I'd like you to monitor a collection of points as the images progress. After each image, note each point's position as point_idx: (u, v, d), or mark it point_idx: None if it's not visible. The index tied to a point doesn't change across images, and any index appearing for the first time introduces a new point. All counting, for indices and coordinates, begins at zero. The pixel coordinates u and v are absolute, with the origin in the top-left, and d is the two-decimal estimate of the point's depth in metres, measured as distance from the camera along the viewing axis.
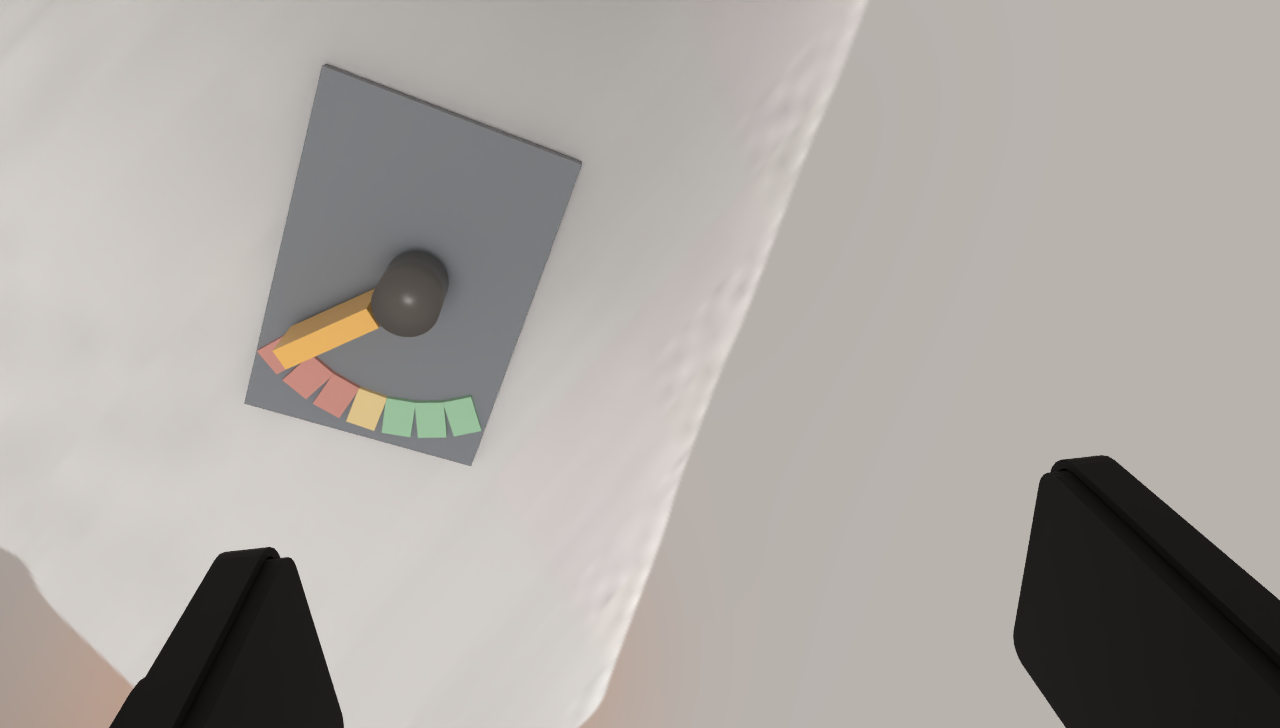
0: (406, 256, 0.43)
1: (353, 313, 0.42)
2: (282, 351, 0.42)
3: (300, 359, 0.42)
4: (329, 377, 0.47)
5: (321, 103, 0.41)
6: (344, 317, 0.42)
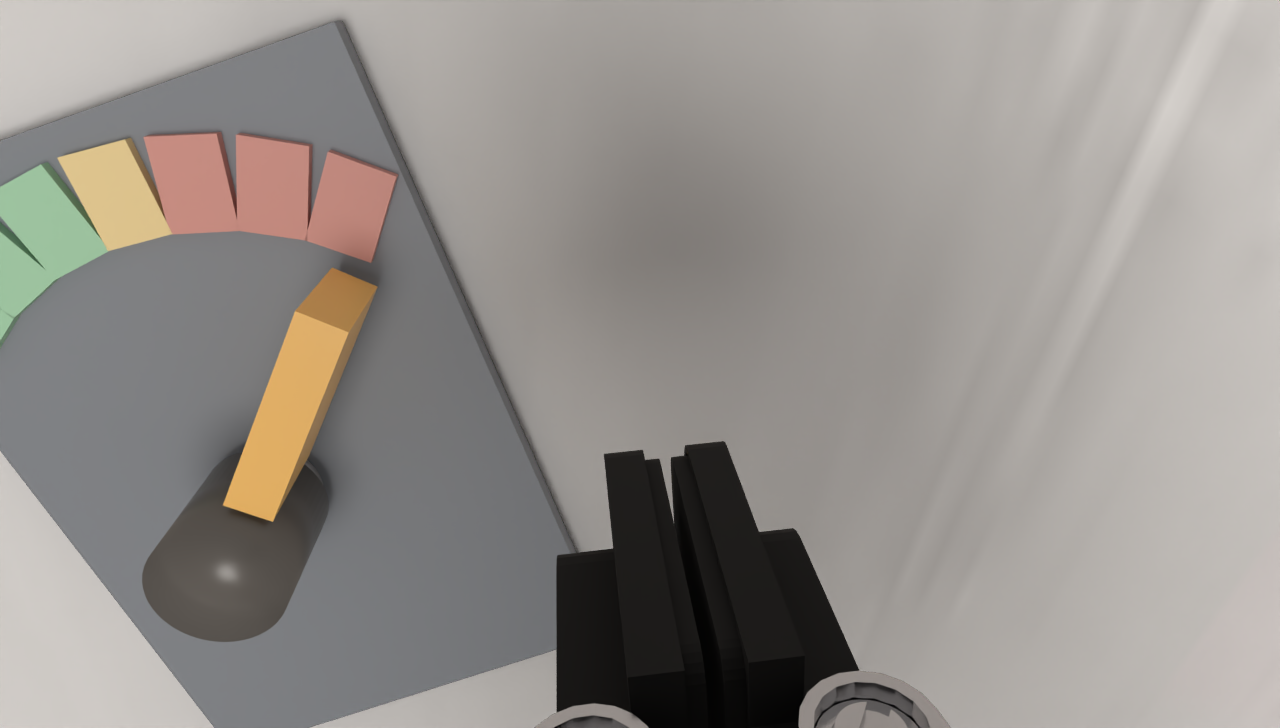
0: None
1: (284, 492, 0.20)
2: (330, 344, 0.18)
3: (288, 351, 0.18)
4: (238, 217, 0.20)
5: None
6: (291, 475, 0.20)
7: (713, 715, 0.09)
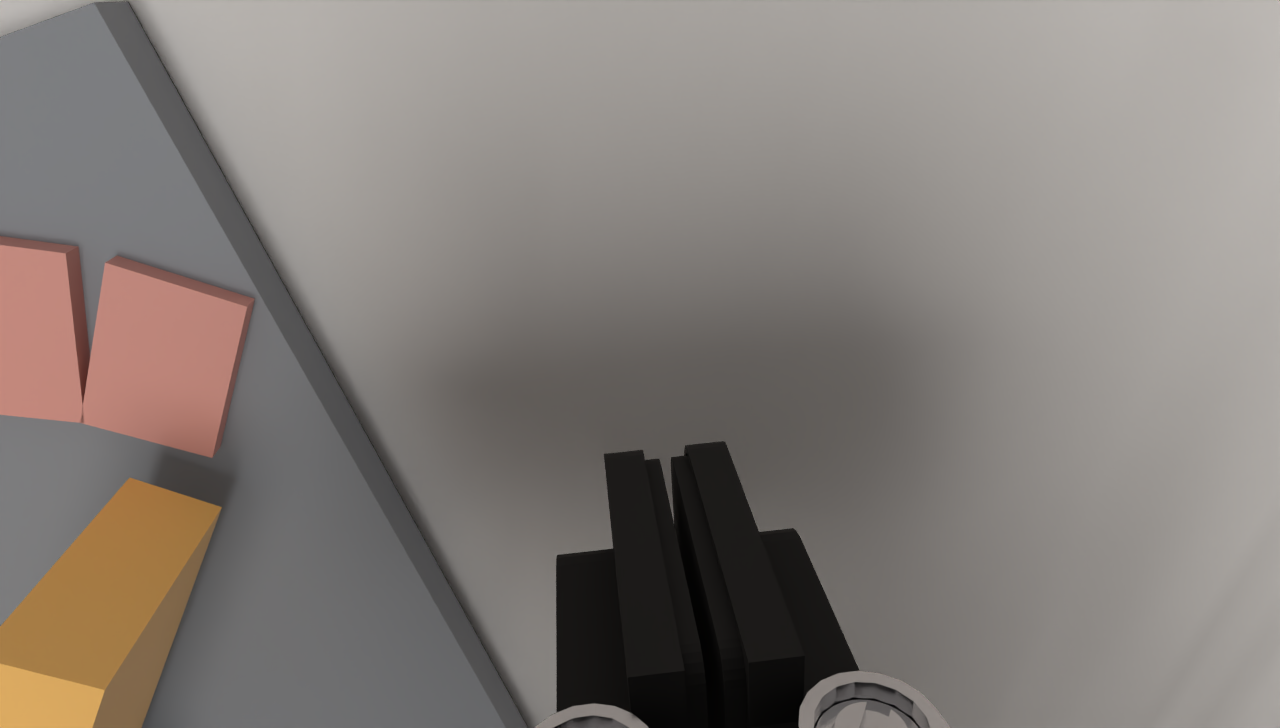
0: None
1: None
2: (66, 712, 0.08)
3: None
4: None
5: None
6: None
7: (713, 715, 0.09)
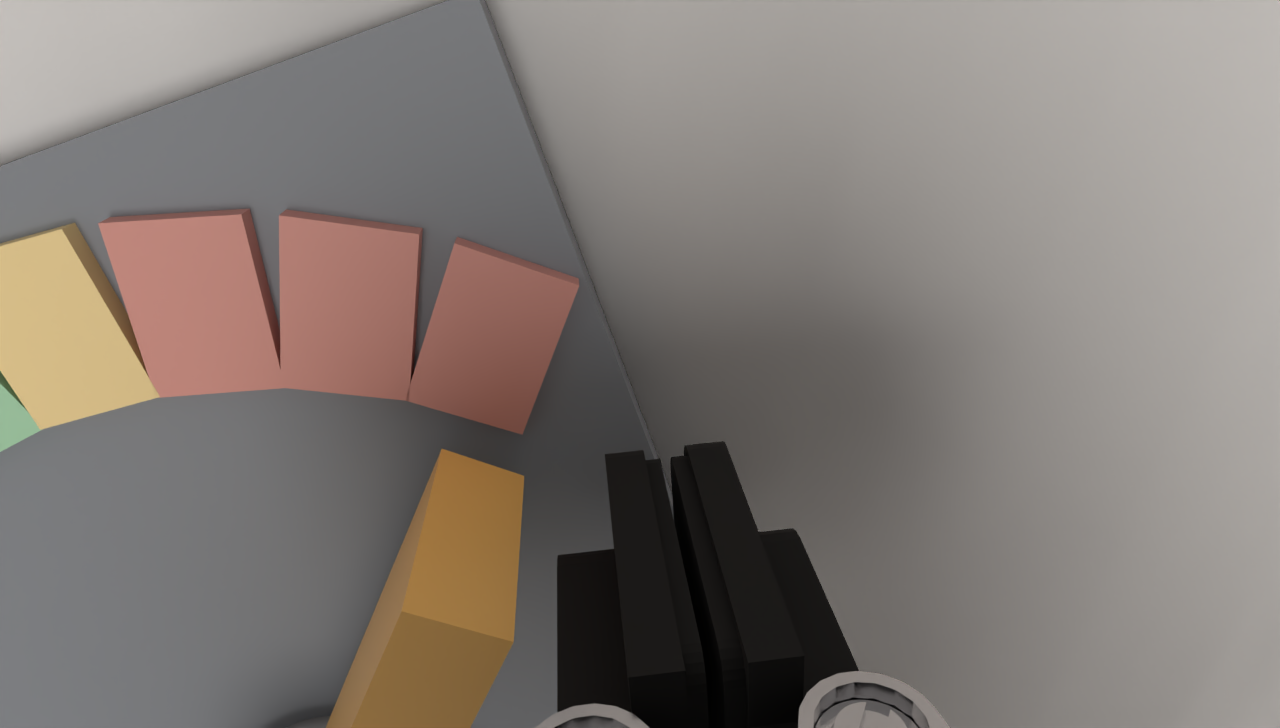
0: None
1: None
2: (474, 663, 0.09)
3: (387, 684, 0.09)
4: (283, 364, 0.11)
5: None
6: None
7: (713, 715, 0.09)
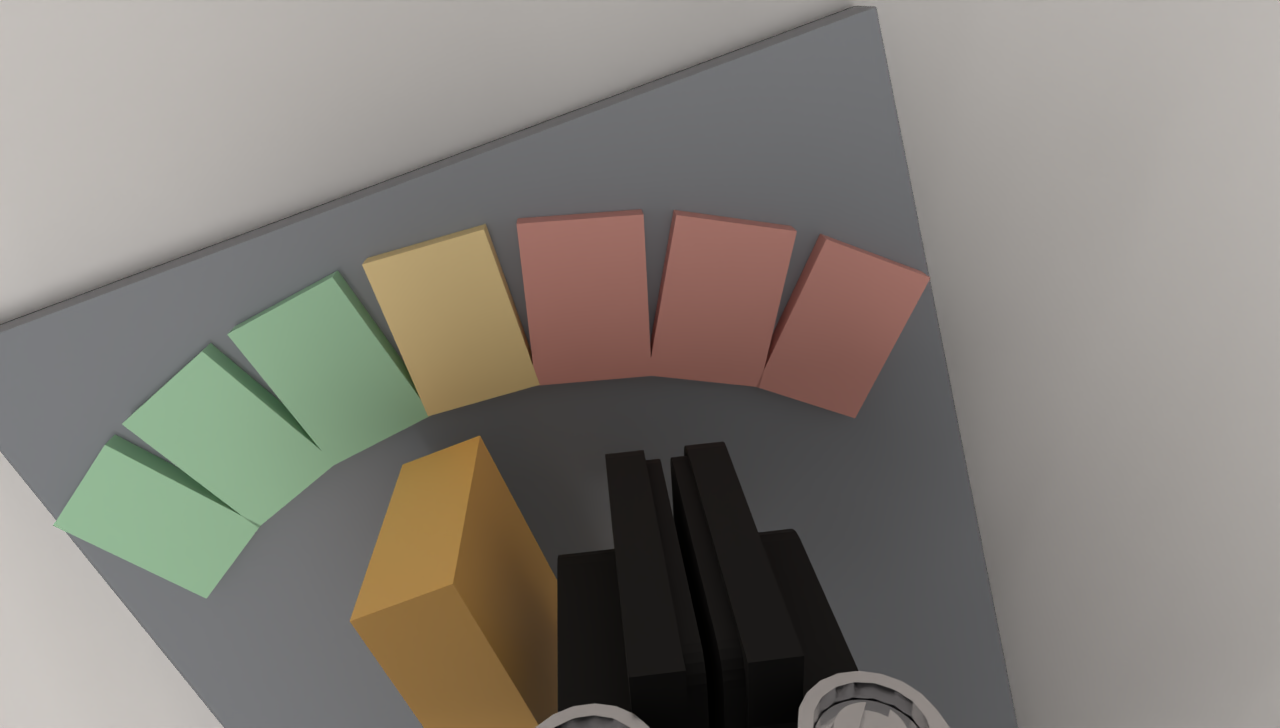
0: None
1: None
2: (447, 621, 0.09)
3: (407, 679, 0.09)
4: (654, 353, 0.12)
5: None
6: None
7: (712, 715, 0.09)
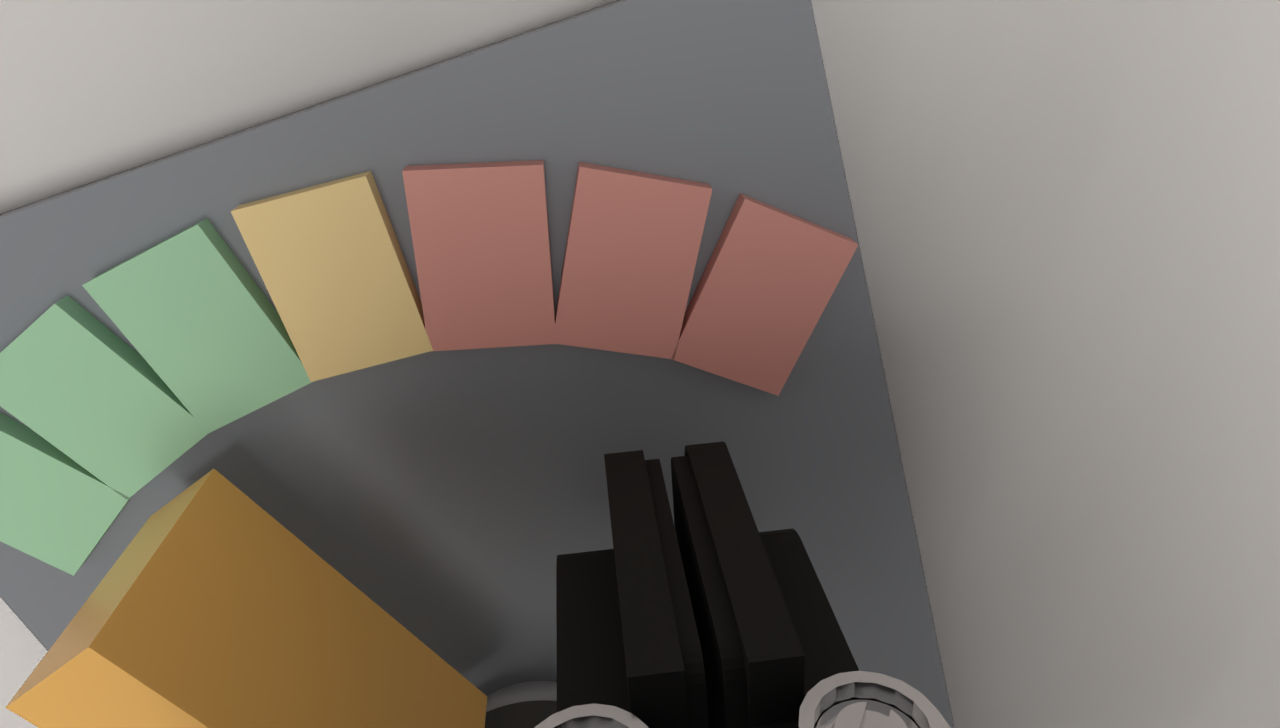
0: None
1: None
2: (106, 685, 0.08)
3: None
4: (558, 319, 0.11)
5: None
6: None
7: (713, 715, 0.09)
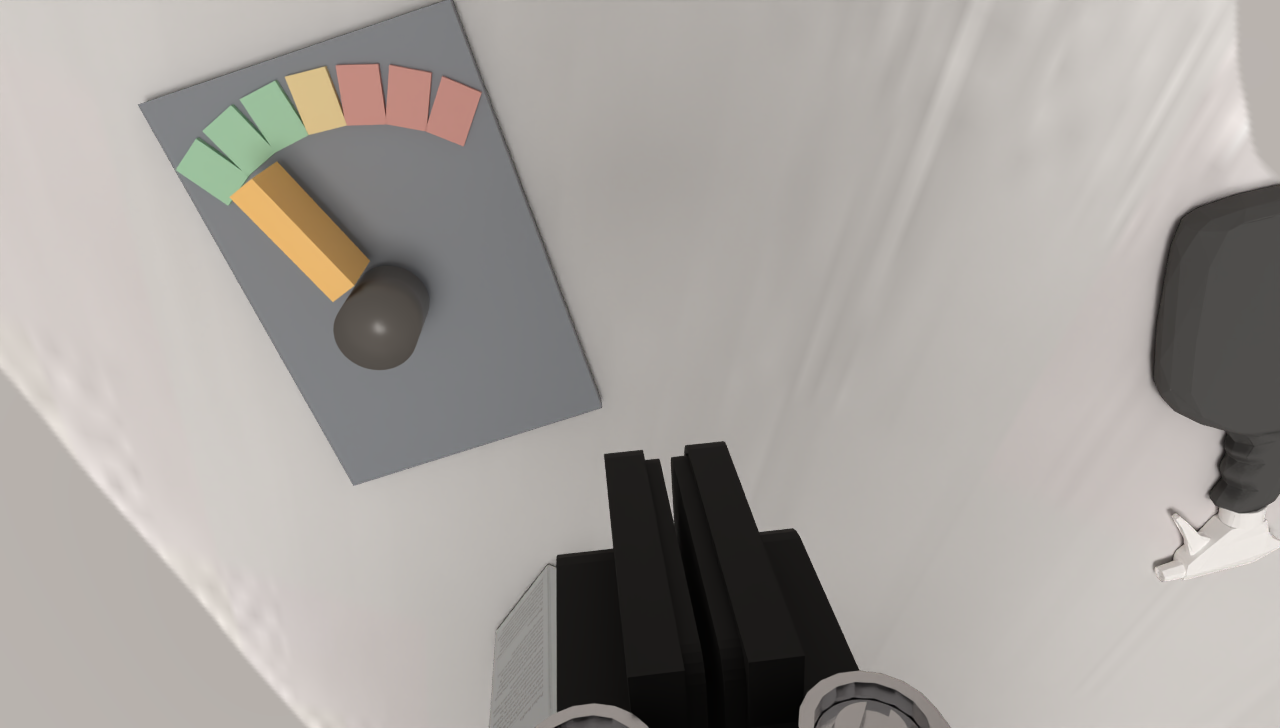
0: (422, 294, 0.36)
1: (341, 269, 0.33)
2: (255, 191, 0.31)
3: (252, 214, 0.32)
4: (386, 116, 0.34)
5: (584, 380, 0.41)
6: (332, 259, 0.33)
7: (713, 715, 0.09)
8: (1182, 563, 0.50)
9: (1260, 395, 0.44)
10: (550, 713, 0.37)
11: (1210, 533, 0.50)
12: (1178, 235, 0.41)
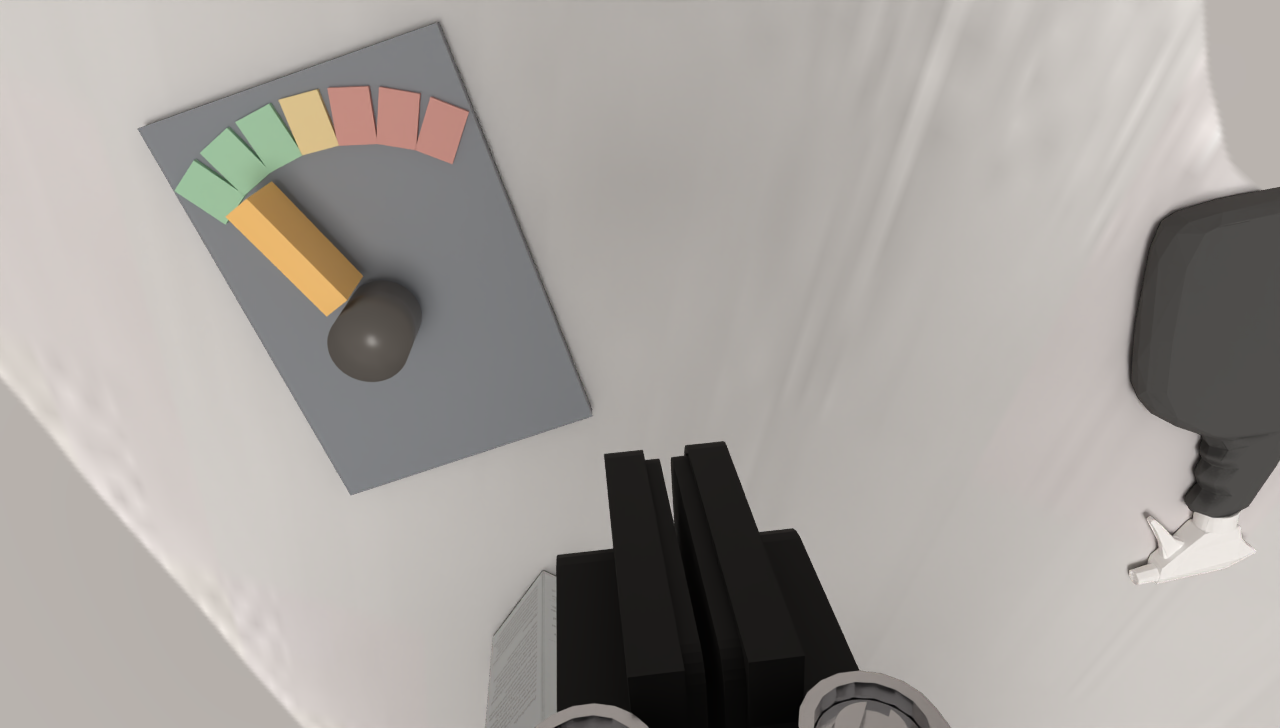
0: (414, 307, 0.37)
1: (334, 285, 0.34)
2: (250, 211, 0.33)
3: (247, 233, 0.33)
4: (377, 135, 0.35)
5: (574, 390, 0.42)
6: (325, 275, 0.34)
7: (713, 715, 0.09)
8: (1156, 566, 0.51)
9: (1234, 399, 0.44)
10: (542, 716, 0.38)
11: (1184, 537, 0.50)
12: (1157, 237, 0.41)
